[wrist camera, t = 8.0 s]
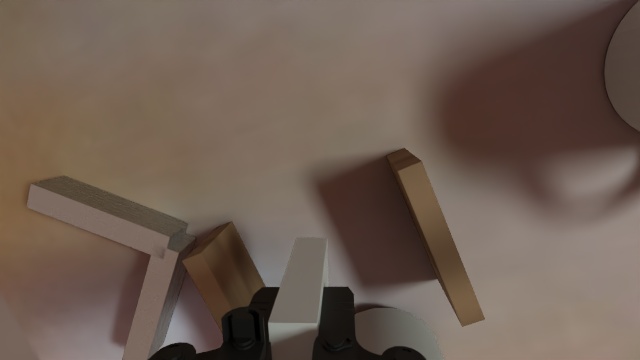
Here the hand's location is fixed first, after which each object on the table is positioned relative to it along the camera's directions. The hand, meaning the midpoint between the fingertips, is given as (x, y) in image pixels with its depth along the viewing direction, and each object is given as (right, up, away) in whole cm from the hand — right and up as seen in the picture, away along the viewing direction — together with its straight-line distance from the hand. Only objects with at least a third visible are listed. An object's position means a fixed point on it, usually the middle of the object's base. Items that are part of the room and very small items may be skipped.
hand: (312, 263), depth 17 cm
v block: (-12, -1, +7) cm, 14 cm away
